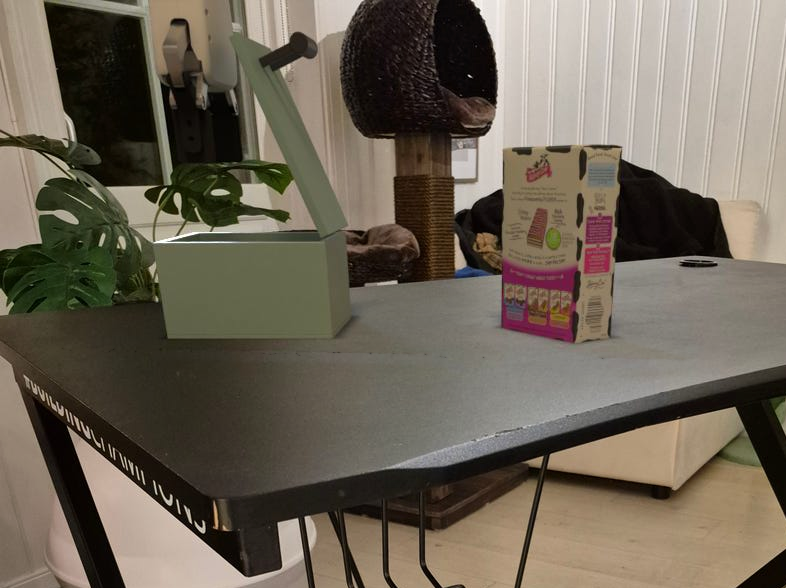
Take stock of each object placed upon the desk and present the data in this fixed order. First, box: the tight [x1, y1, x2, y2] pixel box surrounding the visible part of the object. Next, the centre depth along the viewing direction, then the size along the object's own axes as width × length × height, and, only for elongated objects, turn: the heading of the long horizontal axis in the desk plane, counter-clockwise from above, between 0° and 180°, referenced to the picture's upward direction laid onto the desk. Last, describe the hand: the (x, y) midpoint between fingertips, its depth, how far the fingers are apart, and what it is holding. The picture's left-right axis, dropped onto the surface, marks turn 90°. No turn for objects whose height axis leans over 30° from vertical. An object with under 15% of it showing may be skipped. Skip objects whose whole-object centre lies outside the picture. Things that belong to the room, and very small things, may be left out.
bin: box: [152, 231, 352, 340], centre depth 89 cm, size 16×13×9 cm
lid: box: [229, 31, 349, 238], centre depth 82 cm, size 16×13×5 cm
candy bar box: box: [500, 143, 623, 344], centre depth 84 cm, size 11×5×16 cm, turn 37°
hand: (213, 162), depth 84 cm, fingers open, 9 cm apart
